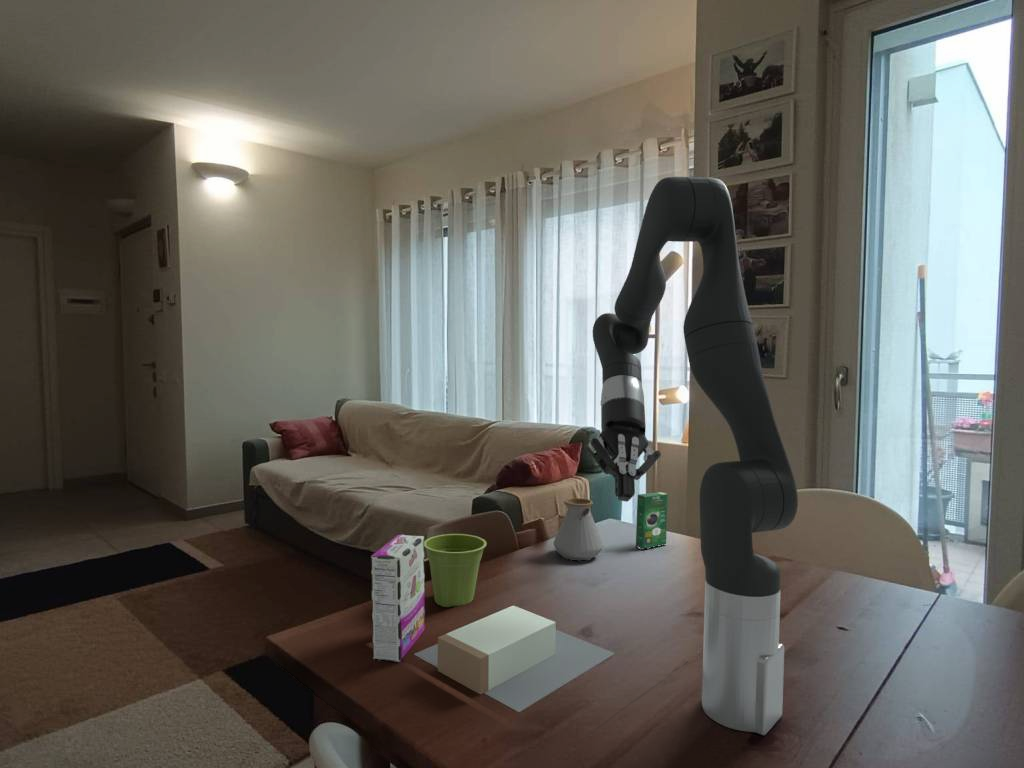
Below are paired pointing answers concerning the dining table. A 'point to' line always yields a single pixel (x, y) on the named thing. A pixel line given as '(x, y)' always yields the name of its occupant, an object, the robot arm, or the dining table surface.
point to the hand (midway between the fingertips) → (625, 499)
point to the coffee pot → (578, 532)
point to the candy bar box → (397, 597)
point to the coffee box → (651, 519)
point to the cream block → (496, 648)
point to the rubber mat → (541, 671)
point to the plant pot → (454, 567)
